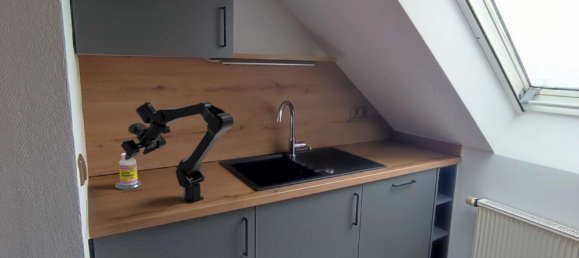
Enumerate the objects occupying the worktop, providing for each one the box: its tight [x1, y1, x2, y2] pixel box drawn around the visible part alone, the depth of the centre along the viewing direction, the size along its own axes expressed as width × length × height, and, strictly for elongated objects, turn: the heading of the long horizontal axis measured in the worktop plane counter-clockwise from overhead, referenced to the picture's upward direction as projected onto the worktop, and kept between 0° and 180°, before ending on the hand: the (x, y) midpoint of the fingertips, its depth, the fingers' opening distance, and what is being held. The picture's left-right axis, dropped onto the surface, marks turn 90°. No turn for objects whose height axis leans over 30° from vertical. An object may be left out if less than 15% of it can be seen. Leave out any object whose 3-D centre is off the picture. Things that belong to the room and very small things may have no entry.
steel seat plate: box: [114, 179, 142, 191], centre depth 155 cm, size 10×10×1 cm
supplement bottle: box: [118, 152, 139, 186], centre depth 153 cm, size 7×7×13 cm
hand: (134, 156), depth 150 cm, fingers open, 9 cm apart
